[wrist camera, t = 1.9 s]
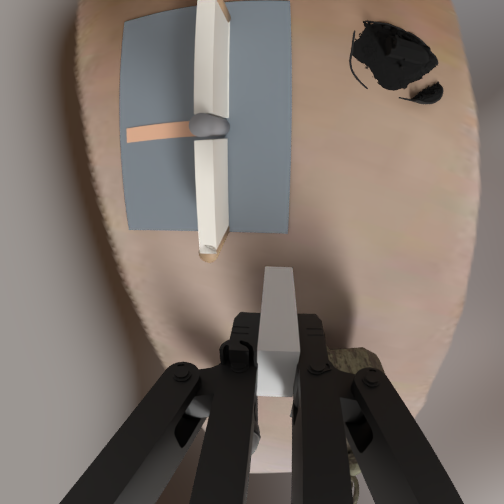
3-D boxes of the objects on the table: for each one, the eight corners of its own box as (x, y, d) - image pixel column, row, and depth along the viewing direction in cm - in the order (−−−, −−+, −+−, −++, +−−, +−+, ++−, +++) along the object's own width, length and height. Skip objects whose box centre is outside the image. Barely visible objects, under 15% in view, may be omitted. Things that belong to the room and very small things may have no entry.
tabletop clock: (307, 322, 37) (321, 501, 14) (368, 319, 36) (420, 480, 14) (301, 386, 43) (303, 522, 20) (351, 383, 42) (373, 513, 19)
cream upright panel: (211, 138, 28) (193, 140, 21) (228, 138, 28) (214, 139, 21) (214, 235, 32) (199, 262, 26) (230, 236, 32) (218, 262, 26)
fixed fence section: (214, 14, 22) (194, -19, 14) (231, 12, 22) (216, -22, 14) (212, 136, 28) (188, 137, 20) (230, 135, 28) (213, 136, 20)
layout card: (126, 22, 22) (124, 21, 22) (289, 2, 21) (290, 0, 20) (130, 228, 34) (128, 230, 33) (287, 232, 32) (287, 233, 32)
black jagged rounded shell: (348, 90, 25) (360, 83, 21) (345, 18, 21) (355, 1, 17) (437, 110, 25) (458, 109, 20) (433, 41, 20) (452, 32, 16)
